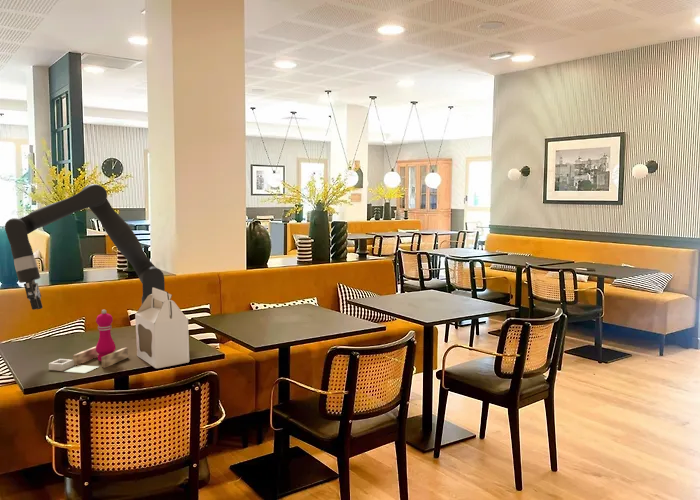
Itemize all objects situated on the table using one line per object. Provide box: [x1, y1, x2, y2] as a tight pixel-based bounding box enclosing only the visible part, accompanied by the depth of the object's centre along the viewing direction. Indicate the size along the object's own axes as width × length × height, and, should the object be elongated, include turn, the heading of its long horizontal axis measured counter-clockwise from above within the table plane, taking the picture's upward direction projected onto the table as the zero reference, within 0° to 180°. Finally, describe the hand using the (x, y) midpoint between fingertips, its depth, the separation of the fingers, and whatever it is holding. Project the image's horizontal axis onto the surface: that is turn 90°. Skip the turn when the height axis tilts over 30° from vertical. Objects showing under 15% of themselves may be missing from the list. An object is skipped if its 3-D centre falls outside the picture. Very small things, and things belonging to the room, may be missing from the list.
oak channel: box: [72, 345, 129, 368], centre depth 225 cm, size 14×14×4 cm
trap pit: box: [48, 358, 75, 372], centre depth 217 cm, size 6×6×2 cm
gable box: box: [134, 287, 190, 369], centre depth 227 cm, size 22×13×28 cm, turn 38°
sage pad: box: [63, 364, 100, 375], centre depth 215 cm, size 8×9×1 cm
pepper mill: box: [95, 309, 116, 362], centre depth 228 cm, size 7×7×20 cm
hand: (37, 309), depth 225 cm, fingers open, 8 cm apart
